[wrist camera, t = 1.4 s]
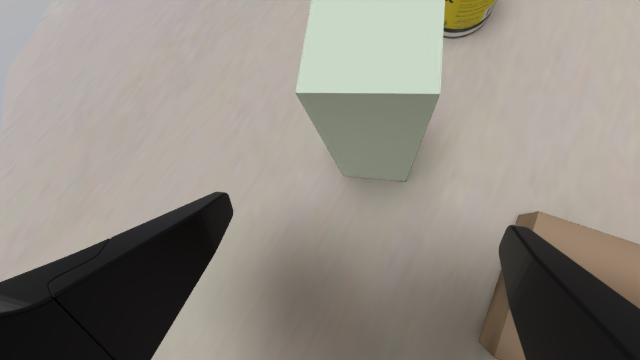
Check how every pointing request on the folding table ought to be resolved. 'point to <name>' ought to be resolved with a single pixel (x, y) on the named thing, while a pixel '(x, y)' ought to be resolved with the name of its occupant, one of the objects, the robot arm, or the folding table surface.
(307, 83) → the sage post
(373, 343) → the folding table surface
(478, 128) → the folding table surface
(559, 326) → the robot arm
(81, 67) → the folding table surface
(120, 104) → the folding table surface
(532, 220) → the walnut block
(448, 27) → the supplement bottle
